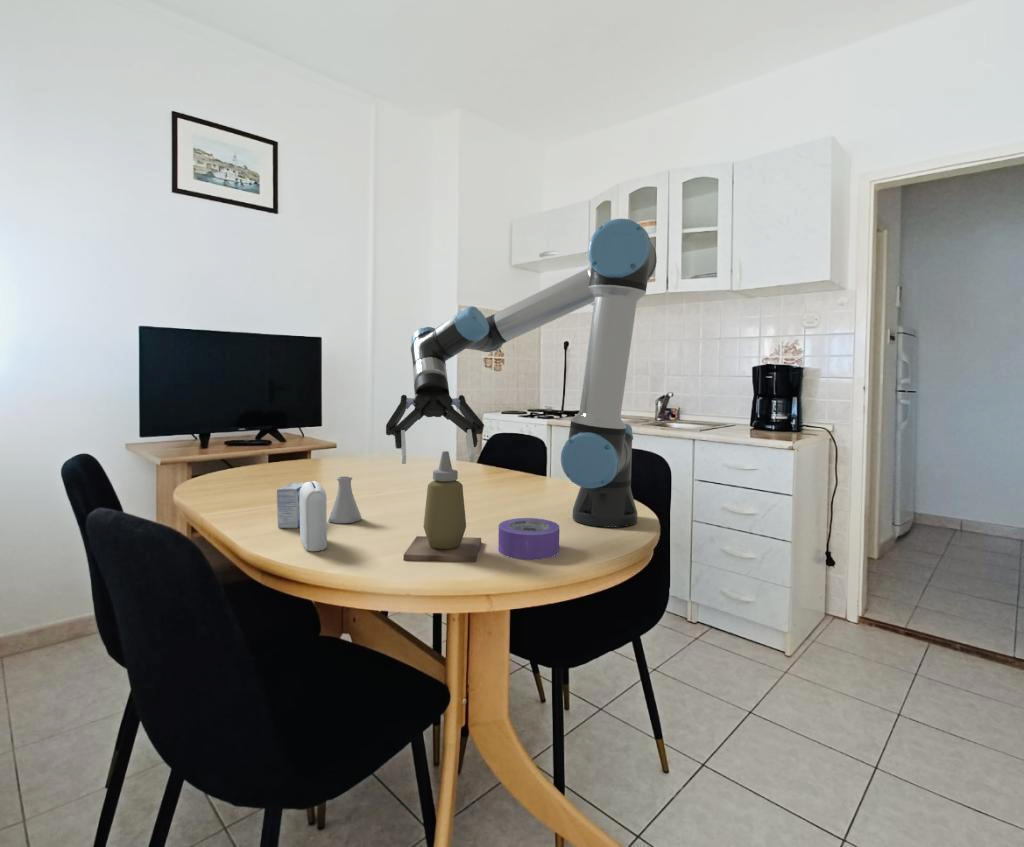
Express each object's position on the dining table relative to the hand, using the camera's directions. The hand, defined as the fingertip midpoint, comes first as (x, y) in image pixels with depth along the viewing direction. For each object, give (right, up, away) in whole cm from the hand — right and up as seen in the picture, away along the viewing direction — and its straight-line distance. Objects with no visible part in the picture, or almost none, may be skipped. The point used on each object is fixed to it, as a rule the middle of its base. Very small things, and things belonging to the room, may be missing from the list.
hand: (438, 459), depth 112 cm
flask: (-24, -15, +16) cm, 33 cm away
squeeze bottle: (+2, -16, -5) cm, 17 cm away
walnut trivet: (+2, -17, -5) cm, 18 cm away
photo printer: (-24, -17, -3) cm, 29 cm away
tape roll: (+18, -18, -4) cm, 25 cm away
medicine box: (-34, -15, +13) cm, 39 cm away
